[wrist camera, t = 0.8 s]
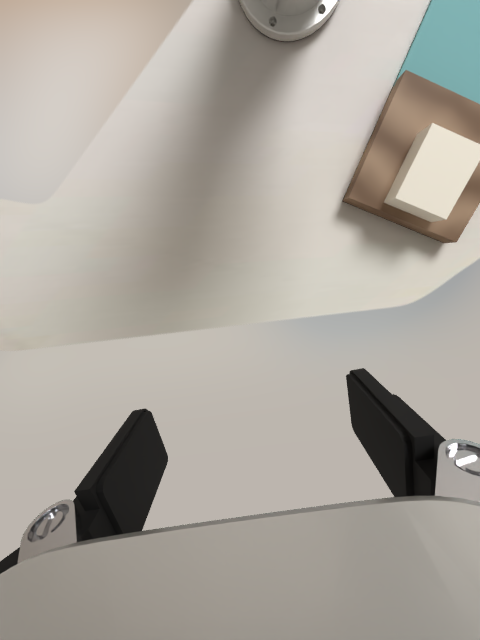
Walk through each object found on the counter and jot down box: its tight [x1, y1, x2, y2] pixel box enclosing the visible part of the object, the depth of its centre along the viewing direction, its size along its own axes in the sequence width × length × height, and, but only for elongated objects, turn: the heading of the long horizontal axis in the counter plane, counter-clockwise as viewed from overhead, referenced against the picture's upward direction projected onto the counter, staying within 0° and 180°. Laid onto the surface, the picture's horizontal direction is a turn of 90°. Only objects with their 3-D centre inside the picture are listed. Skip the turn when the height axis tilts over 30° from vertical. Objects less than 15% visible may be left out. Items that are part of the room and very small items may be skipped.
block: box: [384, 123, 480, 222], centre depth 28 cm, size 8×7×2 cm
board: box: [343, 70, 480, 243], centre depth 30 cm, size 14×16×2 cm
